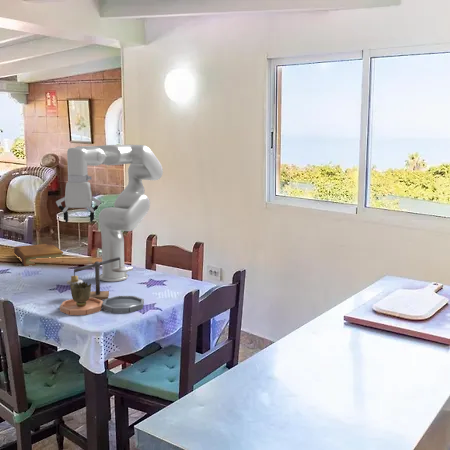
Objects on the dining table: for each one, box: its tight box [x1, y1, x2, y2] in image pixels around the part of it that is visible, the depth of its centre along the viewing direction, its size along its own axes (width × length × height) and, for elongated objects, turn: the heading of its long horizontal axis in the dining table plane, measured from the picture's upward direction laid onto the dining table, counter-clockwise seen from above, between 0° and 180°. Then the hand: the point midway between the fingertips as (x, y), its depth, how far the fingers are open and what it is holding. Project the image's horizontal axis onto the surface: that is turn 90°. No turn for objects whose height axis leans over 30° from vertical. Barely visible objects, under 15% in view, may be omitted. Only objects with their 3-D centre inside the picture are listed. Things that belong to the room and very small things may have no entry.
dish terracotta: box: [59, 298, 104, 316], centre depth 196 cm, size 15×15×2 cm
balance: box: [66, 257, 129, 301], centre depth 208 cm, size 23×8×16 cm, turn 99°
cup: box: [69, 281, 92, 307], centre depth 196 cm, size 8×7×8 cm
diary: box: [13, 242, 64, 267], centre depth 269 cm, size 23×19×6 cm
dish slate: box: [101, 295, 145, 314], centre depth 199 cm, size 15×15×2 cm
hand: (79, 221), depth 214 cm, fingers open, 9 cm apart
